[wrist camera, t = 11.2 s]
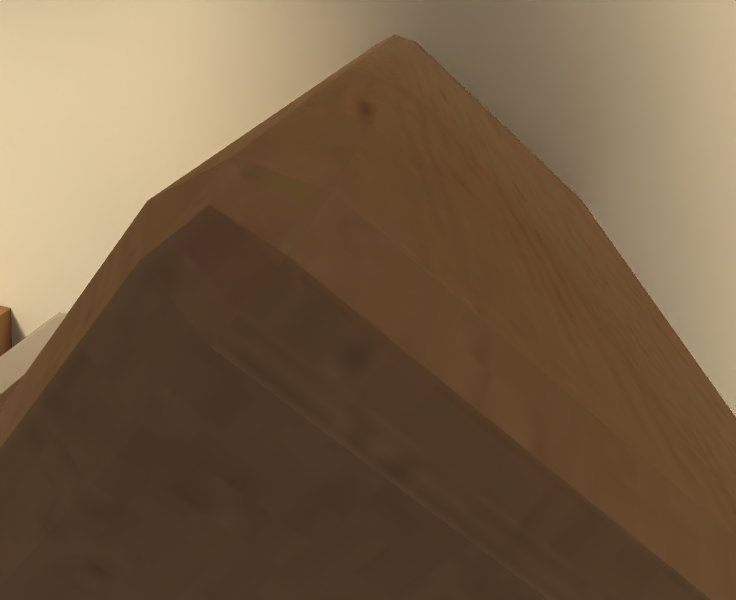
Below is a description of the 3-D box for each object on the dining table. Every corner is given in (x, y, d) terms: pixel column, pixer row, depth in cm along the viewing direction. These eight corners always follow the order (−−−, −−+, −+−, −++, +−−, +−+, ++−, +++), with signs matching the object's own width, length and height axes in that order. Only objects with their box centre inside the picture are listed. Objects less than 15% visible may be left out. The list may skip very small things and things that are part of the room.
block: (396, 20, 21) (163, 122, 3) (594, 210, 23) (1097, 892, 6) (231, 225, 25) (-280, 776, 7) (414, 372, 27) (366, 1082, 9)
